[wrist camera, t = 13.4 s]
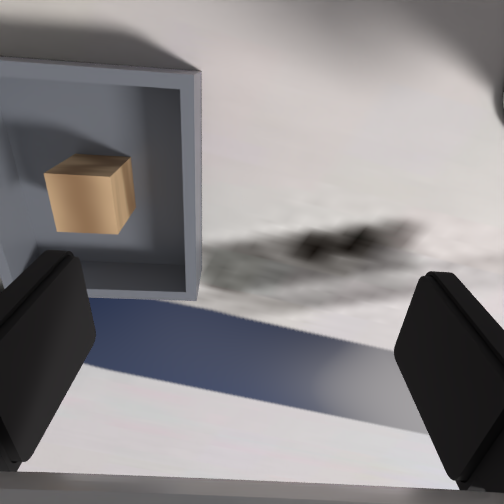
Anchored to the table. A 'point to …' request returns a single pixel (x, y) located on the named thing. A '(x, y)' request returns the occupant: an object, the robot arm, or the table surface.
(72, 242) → the bin
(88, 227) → the oak block
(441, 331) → the robot arm
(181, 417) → the table surface
